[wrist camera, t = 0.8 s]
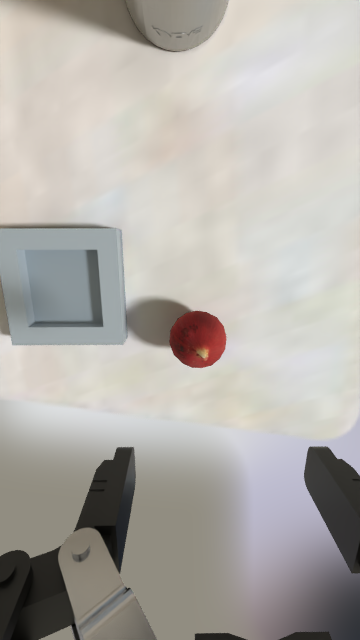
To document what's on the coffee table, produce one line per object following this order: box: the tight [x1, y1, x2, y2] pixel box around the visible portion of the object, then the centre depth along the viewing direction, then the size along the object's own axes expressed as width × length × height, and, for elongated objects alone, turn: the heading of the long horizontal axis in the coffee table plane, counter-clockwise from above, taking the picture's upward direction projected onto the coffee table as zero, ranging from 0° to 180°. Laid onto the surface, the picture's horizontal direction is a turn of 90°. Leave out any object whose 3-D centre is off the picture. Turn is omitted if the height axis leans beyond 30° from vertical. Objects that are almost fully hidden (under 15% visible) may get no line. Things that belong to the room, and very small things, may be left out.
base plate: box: [0, 228, 127, 345], centre depth 29 cm, size 12×12×2 cm
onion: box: [169, 311, 226, 368], centre depth 28 cm, size 6×6×8 cm
